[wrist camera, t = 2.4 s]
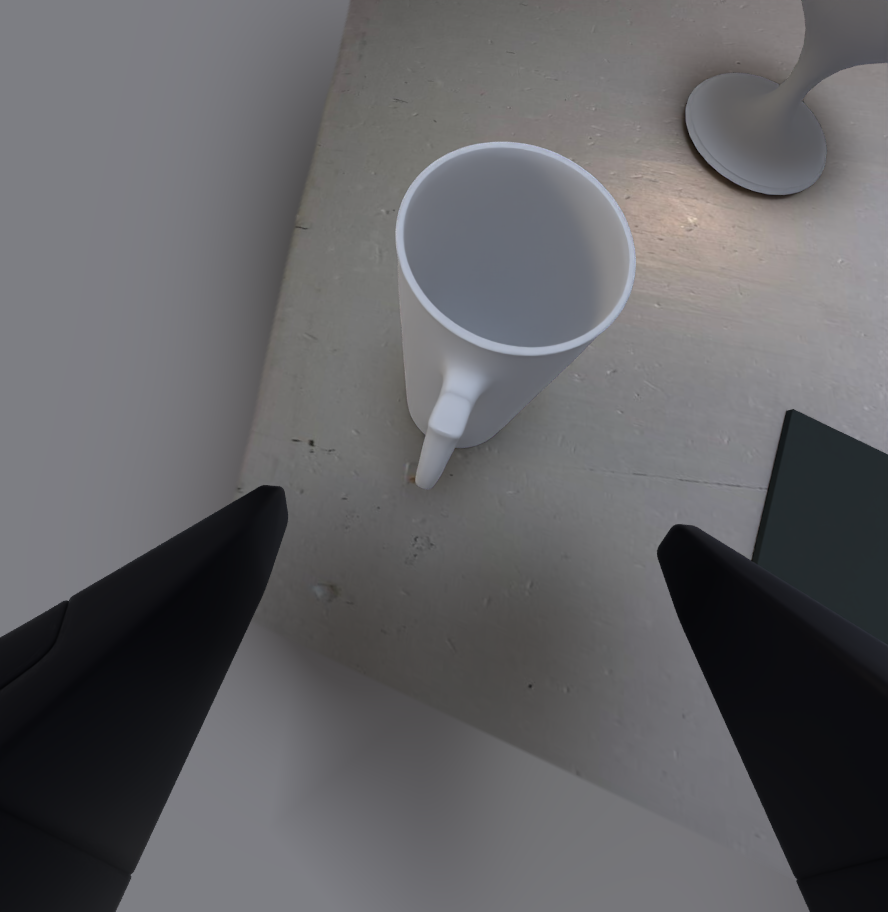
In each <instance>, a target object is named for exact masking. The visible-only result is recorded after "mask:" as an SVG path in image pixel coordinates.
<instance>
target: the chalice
mask: <svg viewBox="0 0 888 912" xmlns="http://www.w3.org/2000/svg"><path fill="white" fill-rule="evenodd" d="M801 1H802V6H803V11H804V17H805V28H806V29H805V39H804V45H803V48H802V51H801V54H800V57H799V60H798V62H797V64H796V66H795V67H794V69H793V70H792V72H791V74H790V75H789V77H788V78H787V79H786V80H785V81H784V82H783V83H782V84H781V85H780V84H778V83H776V82H774V81H771V80H769V79H767V78H764V77H761V76H757V75H753V74H749V73H736V72H732V73H725V74H720V75H717V76H714V77H712V78H709V79H707V80H704V81H703V82H702V83H701V84H699V85H698V86H697V87H695V89H694V90H693V92H692V93H691V95H690V96H689V98H688V102H687V105H686V124H687V128H688V131H689V135H690V137H691V139H692V141H693V143H694V145H695V146H696V148H697V150H698V151H699V153H700V154H701V155H702V156H703V157H704V159H705V160H706V161H707V162H708V163H709V164H710V165H711V166H712V167H713V168H714V169H715V170H717V171H718V172H719V173H720V174H721V175H723V176H724V177H726V178H728V179H729V180H731V181H732V182H734V183H736V184H738V185H740V186H742V187H745V188H747V189H750V190H752V191H756V192H760V193H765V194H769V195H787V194H792V193H797V192H800V191H802V190H804V189H806V188H808V187H810V186H811V185H812V184H813V183H814V182H815V181H816V180H817V179H818V178H819V177H820V175H821V173H822V171H823V169H824V167H825V161H826V154H827V146H826V139H825V136H824V133H823V130H822V128H821V125H820V123H819V122H818V120H817V119H816V117H815V115H814V114H813V112H812V111H811V110H810V109H809V108H808V107H807V106H806V104H805V103H804V102H803V101H802V99H803V98H804V97H805V95H806V94H807V92H808V91H810V90H811V89H812V88H813V87H814V86H816V85H817V84H818V83H819V82H821V81H822V80H823V79H825V78H827V77H829V76H831V75H832V74H834V73H836V72H838V71H840V70H843V69H846V68H850V67H853V66H857V65H864V64H875V63H888V0H801Z"/></svg>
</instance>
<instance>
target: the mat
mask: <svg viewBox="0 0 888 912" xmlns="http://www.w3.org/2000/svg"><path fill="white" fill-rule="evenodd" d="M752 562H754V563H756V564H757V565H759V566H761V567H762V568H764V569H765V570H767V571H769V572H770V573H772V574H774V575H775V576H777V577H778V578H780V579H782V580H783V581H785V582H786V583H788V584H790V585H791V586H793V587H795V588H796V589H798V590H799V591H801V592H803V593H804V594H806V595H808V596H809V597H811V598H812V599H814V600H816V601H817V602H819V603H820V604H822V605H824V606H825V607H827V608H829V609H830V610H832V611H833V612H835V613H837V614H838V615H840V616H842V617H843V618H845V619H846V620H848V621H850V622H851V623H853V624H854V625H856V626H858V627H859V628H861V629H863V630H864V631H866V632H867V633H869V634H871V635H872V636H874V637H876V638H877V639H879V640H880V641H882V642H884V643H885V644H887V645H888V454H886V453H883V452H881V451H879V450H877V449H875V448H873V447H871V446H869V445H867V444H865V443H863V442H861V441H858V440H856V439H854V438H852V437H850V436H848V435H846V434H844V433H842V432H840V431H838V430H836V429H833V428H831V427H829V426H827V425H825V424H823V423H821V422H819V421H817V420H815V419H813V418H811V417H808V416H806V415H804V414H802V413H800V412H798V411H796V410H794V409H792V410H788V411H787V413H786V417H785V422H784V426H783V430H782V434H781V439H780V443H779V447H778V452H777V456H776V460H775V465H774V469H773V473H772V477H771V482H770V486H769V490H768V495H767V499H766V503H765V508H764V512H763V516H762V521H761V525H760V529H759V533H758V538H757V542H756V546H755V551H754V555H753V559H752Z"/></svg>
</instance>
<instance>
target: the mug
mask: <svg viewBox="0 0 888 912" xmlns="http://www.w3.org/2000/svg"><path fill="white" fill-rule="evenodd" d="M395 237H396V250H397V256H398V286H399V303H400V316H401V329H402V342H403V355H404V368H405V384H406V393H407V403H408V408H409V412H410V415H411V417H412V419H413V421H414V422H415V424H416V425H417V427H418V428H419V429H420V430H421V431H422V432H423V433H424V434H425V435H426V436H425V439H424V443H423V447H422V451H421V455H420V460H419V464H418V468H417V473H416V479H415V481H416V484H417V486H419V487H421V488H423V489H427V490H428V489H431V488H432V487H433V486H434V485H435V484H436V482H437V481H438V480H439V478H440V476H441V475H442V473H443V471H444V469H445V466H446V464H447V462H448V460H449V458H450V456H451V454H452V453H453V451H454V449H455V448H468V447H473V446H477V445H479V444H482V443H484V442H486V441H487V440H489V439H490V438H492V437H493V436H494V435H495V434H497V433H498V432H499V431H500V430H501V429H502V428H503V427H504V426H505V425H506V424H507V423H508V422H510V421H511V420H512V419H513V418H514V417H515V416H516V415H517V414H518V413H519V412H520V411H521V410H522V409H523V408H524V407H525V406H526V405H527V404H528V403H529V402H530V401H531V400H533V399H534V398H535V397H536V396H537V395H538V394H539V393H540V392H541V391H542V390H543V389H544V388H545V387H546V386H547V385H548V384H549V383H551V382H552V381H553V380H554V379H555V378H556V377H557V376H558V375H559V374H560V373H561V372H562V371H563V370H564V369H565V368H566V367H567V366H568V365H569V364H571V363H572V362H573V361H574V360H575V359H576V358H577V357H578V356H579V355H580V354H581V353H582V352H583V351H584V350H585V349H586V348H587V346H588V345H589V344H590V343H591V342H592V341H593V340H594V339H595V338H596V337H597V336H598V335H600V334H601V333H602V332H603V331H604V330H606V329H607V328H608V327H609V326H610V325H611V324H612V323H613V321H614V320H615V319H616V318H617V317H618V315H619V314H620V312H621V311H622V309H623V308H624V306H625V304H626V302H627V300H628V298H629V295H630V293H631V290H632V287H633V283H634V278H635V269H636V256H635V247H634V242H633V238H632V234H631V231H630V228H629V225H628V223H627V221H626V218H625V216H624V214H623V212H622V211H621V209H620V207H619V206H618V204H617V202H616V201H615V200H614V198H613V197H612V196H611V194H610V193H609V192H608V191H607V190H606V188H605V187H604V186H603V185H602V184H601V183H600V182H599V181H598V180H597V179H596V178H595V177H593V176H592V175H591V174H590V173H589V172H587V171H586V170H585V169H583V168H582V167H581V166H579V165H578V164H576V163H574V162H573V161H571V160H569V159H568V158H566V157H564V156H562V155H560V154H558V153H555V152H553V151H550V150H547V149H544V148H541V147H537V146H533V145H529V144H523V143H515V142H488V143H480V144H475V145H470V146H467V147H463V148H460V149H458V150H455V151H453V152H450V153H448V154H446V155H445V156H443V157H441V158H439V159H438V160H436V161H435V162H433V163H432V164H431V165H429V166H428V167H427V168H426V169H425V170H424V171H423V172H422V173H421V174H420V175H419V176H418V177H417V178H416V179H415V180H414V182H413V183H412V184H411V186H410V187H409V189H408V191H407V192H406V194H405V196H404V198H403V201H402V203H401V206H400V209H399V213H398V217H397V223H396V236H395Z"/></svg>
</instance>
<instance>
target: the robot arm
mask: <svg viewBox="0 0 888 912" xmlns="http://www.w3.org/2000/svg"><path fill="white" fill-rule="evenodd" d="M287 523H288V511H287V504H286V497H285V492H284V489H283V488H282V487H280V486H270V485H263V486H260V487H258V488H256V489H255V490H253V491H251V492H250V493H248V494H246V495H245V496H243V497H241V498H239V499H238V500H236V501H234V502H233V503H231V504H229V505H227V506H226V507H224V508H222V509H221V510H219V511H217V512H215V513H214V514H212V515H210V516H209V517H207V518H205V519H203V520H202V521H200V522H198V523H197V524H195V525H193V526H192V527H190V528H188V529H187V530H185V531H183V532H181V533H180V534H178V535H176V536H174V537H173V538H171V539H169V540H168V541H166V542H164V543H162V544H161V545H159V546H157V547H156V548H154V549H152V550H150V551H149V552H147V553H146V554H144V555H142V556H140V557H138V558H137V559H135V560H133V561H132V562H130V563H128V564H127V565H125V566H123V567H122V568H120V569H118V570H116V571H115V572H113V573H111V574H110V575H108V576H106V577H104V578H103V579H101V580H99V581H97V582H96V583H94V584H92V585H91V586H89V587H87V588H86V589H84V590H82V591H80V592H79V593H77V594H75V595H74V596H72V597H71V598H70V600H69V601H63V602H61V603H59V604H58V605H56V606H54V607H53V608H51V609H49V610H48V611H46V612H44V613H43V614H41V615H39V616H37V617H36V618H34V619H32V620H30V621H29V622H27V623H25V624H23V625H22V626H20V627H18V628H16V629H14V630H13V631H11V632H9V633H8V634H6V635H4V636H2V637H0V912H116V910H117V907H118V905H119V903H120V901H121V899H122V897H123V895H124V892H125V890H126V888H127V886H128V884H129V882H130V879H131V874H132V873H133V872H134V870H135V868H136V866H137V864H138V862H139V860H140V857H141V855H142V853H143V851H144V849H145V847H146V845H147V842H148V840H149V838H150V836H151V834H152V832H153V830H154V827H155V825H156V823H157V821H158V819H159V817H160V814H161V812H162V810H163V808H164V806H165V804H166V802H167V800H168V797H169V795H170V793H171V791H172V789H173V786H174V785H175V782H176V780H177V778H178V776H179V774H180V772H181V770H182V767H183V765H184V763H185V761H186V759H187V757H188V755H189V752H190V750H191V748H192V746H193V744H194V741H195V739H196V737H197V735H198V733H199V731H200V729H201V727H202V725H203V722H204V720H205V718H206V716H207V714H208V711H209V710H210V707H211V705H212V703H213V701H214V699H215V697H216V695H217V692H218V690H219V688H220V686H221V684H222V682H223V680H224V677H225V675H226V673H227V671H228V669H229V667H230V664H231V662H232V660H233V658H234V656H235V654H236V652H237V649H238V647H239V645H240V643H241V641H242V639H243V637H244V634H245V632H246V630H247V628H248V626H249V624H250V622H251V619H252V617H253V615H254V613H255V611H256V609H257V607H258V604H259V602H260V600H261V598H262V596H263V593H264V591H265V589H266V586H267V583H268V580H269V577H270V574H271V571H272V568H273V565H274V562H275V559H276V556H277V553H278V550H279V548H280V545H281V542H282V539H283V536H284V533H285V530H286V527H287ZM657 557H658V560H659V563H660V566H661V569H662V572H663V575H664V578H665V581H666V584H667V587H668V590H669V592H670V595H671V598H672V601H673V604H674V607H675V610H676V613H677V615H678V618H679V620H680V623H681V625H682V628H683V630H684V632H685V634H686V637H687V639H688V641H689V643H690V645H691V648H692V650H693V652H694V654H695V657H696V659H697V661H698V663H699V665H700V668H701V670H702V672H703V674H704V677H705V679H706V681H707V683H708V685H709V688H710V690H711V692H712V694H713V697H714V699H715V701H716V703H717V705H718V708H719V710H720V712H721V714H722V717H723V719H724V721H725V723H726V725H727V728H728V730H729V732H730V734H731V737H732V739H733V741H734V743H735V745H736V748H737V750H738V752H739V754H740V757H741V759H742V761H743V763H744V765H745V768H746V770H747V772H748V774H749V777H750V779H751V781H752V783H753V785H754V788H755V790H756V792H757V794H758V797H759V799H760V801H761V803H762V805H763V808H764V810H765V812H766V814H767V817H768V819H769V821H770V823H771V825H772V828H773V830H774V832H775V834H776V836H777V839H778V841H779V843H780V845H781V848H782V850H783V852H784V854H785V856H786V859H787V861H788V863H789V865H790V868H791V870H792V872H793V874H794V876H795V878H796V879H797V881H796V882H797V884H798V886H799V889H800V891H801V893H802V895H803V897H804V900H805V902H806V904H807V906H808V908H809V911H810V912H888V645H887V644H885V643H884V642H882V641H880V640H879V639H877V638H876V637H874V636H872V635H871V634H869V633H867V632H866V631H864V630H863V629H861V628H859V627H858V626H856V625H854V624H853V623H851V622H850V621H848V620H846V619H845V618H843V617H842V616H840V615H838V614H837V613H835V612H833V611H832V610H830V609H829V608H827V607H825V606H824V605H822V604H820V603H819V602H817V601H816V600H814V599H812V598H811V597H809V596H808V595H806V594H804V593H803V592H801V591H799V590H798V589H796V588H795V587H793V586H791V585H790V584H788V583H786V582H785V581H783V580H782V579H780V578H778V577H777V576H775V575H774V574H772V573H770V572H769V571H767V570H765V569H764V568H762V567H761V566H759V565H757V564H756V563H754V562H752V561H751V560H749V559H748V558H746V557H744V556H743V555H741V554H740V553H738V552H736V551H735V550H733V549H731V548H730V547H728V546H727V545H725V544H723V543H722V542H720V541H718V540H717V539H715V538H714V537H712V536H710V535H709V534H707V533H706V532H704V531H702V530H701V529H699V528H697V527H695V526H692V525H683V524H676V525H674V526H673V527H672V528H671V529H670V530H669V532H668V533H667V535H666V536H665V538H664V539H663V541H662V542H661V544H660V545H659V547H658V550H657Z"/></svg>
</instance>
